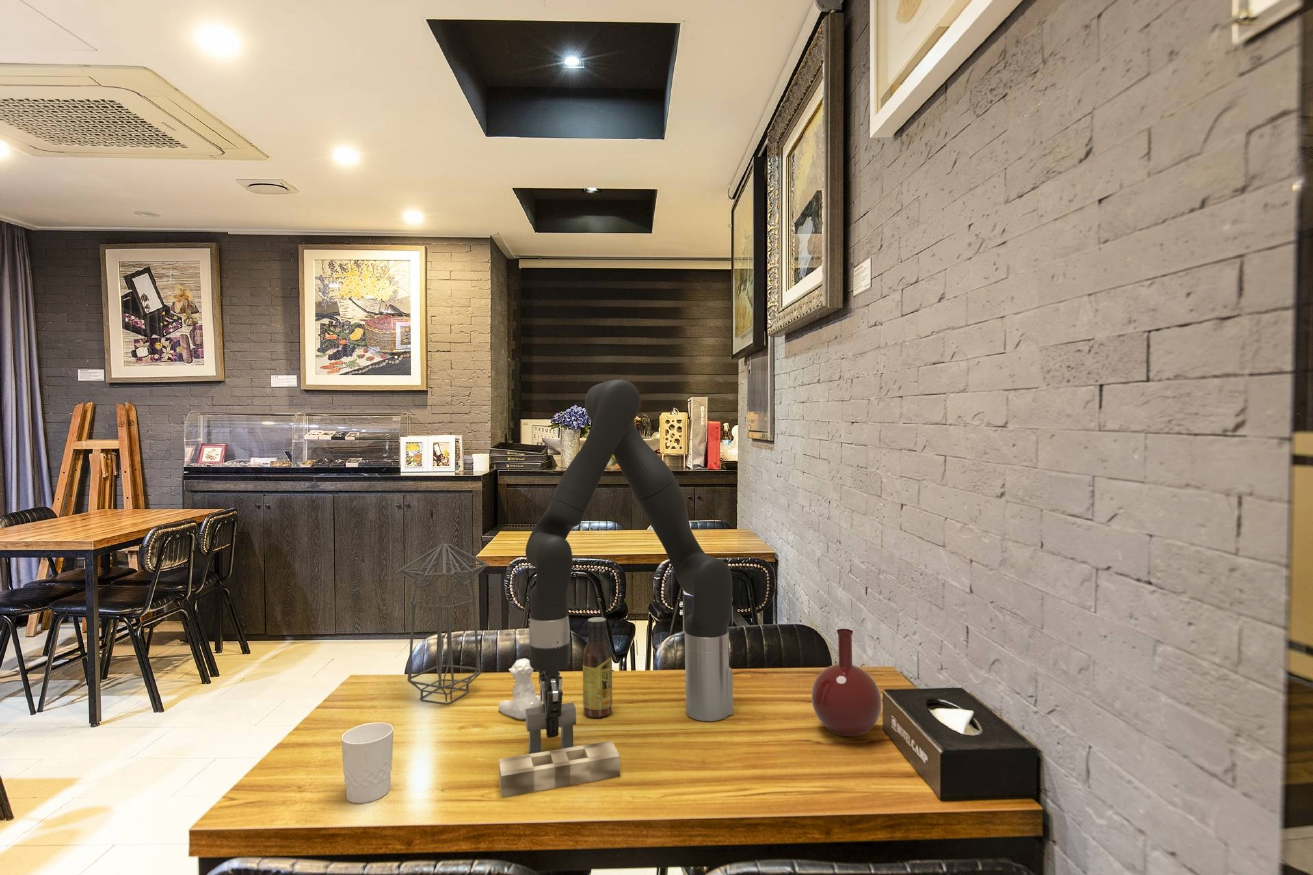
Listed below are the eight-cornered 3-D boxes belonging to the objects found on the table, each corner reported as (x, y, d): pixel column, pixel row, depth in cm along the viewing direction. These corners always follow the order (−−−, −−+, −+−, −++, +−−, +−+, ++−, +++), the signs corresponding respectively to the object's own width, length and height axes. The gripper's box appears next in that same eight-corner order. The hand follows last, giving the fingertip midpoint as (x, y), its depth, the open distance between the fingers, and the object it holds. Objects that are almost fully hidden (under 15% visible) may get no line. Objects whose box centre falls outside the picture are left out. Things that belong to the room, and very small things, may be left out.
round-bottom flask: (815, 715, 134) (813, 619, 134) (882, 723, 129) (880, 624, 130) (808, 743, 121) (806, 637, 122) (882, 753, 117) (880, 644, 117)
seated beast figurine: (540, 702, 143) (540, 648, 143) (551, 716, 135) (550, 659, 135) (497, 710, 139) (497, 655, 139) (506, 726, 131) (505, 667, 131)
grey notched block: (573, 743, 123) (573, 702, 123) (576, 751, 120) (576, 708, 120) (526, 751, 120) (525, 708, 120) (527, 758, 117) (527, 715, 117)
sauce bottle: (607, 720, 133) (606, 624, 133) (579, 718, 134) (577, 623, 134) (616, 707, 139) (614, 615, 140) (588, 705, 141) (587, 614, 141)
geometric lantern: (393, 703, 143) (392, 547, 145) (442, 681, 158) (441, 538, 159) (449, 713, 137) (448, 549, 139) (495, 688, 152) (493, 540, 153)
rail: (612, 759, 116) (611, 740, 116) (620, 776, 111) (620, 755, 111) (499, 779, 110) (498, 758, 110) (501, 797, 104) (501, 775, 105)
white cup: (353, 781, 110) (352, 723, 110) (400, 778, 111) (399, 720, 111) (334, 807, 102) (333, 744, 103) (384, 804, 103) (384, 742, 103)
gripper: (576, 649, 115) (577, 745, 114) (563, 627, 128) (564, 714, 128) (534, 653, 112) (535, 752, 112) (525, 631, 126) (526, 719, 126)
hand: (551, 731), depth 120 cm, fingers closed on grey notched block, 3 cm apart
